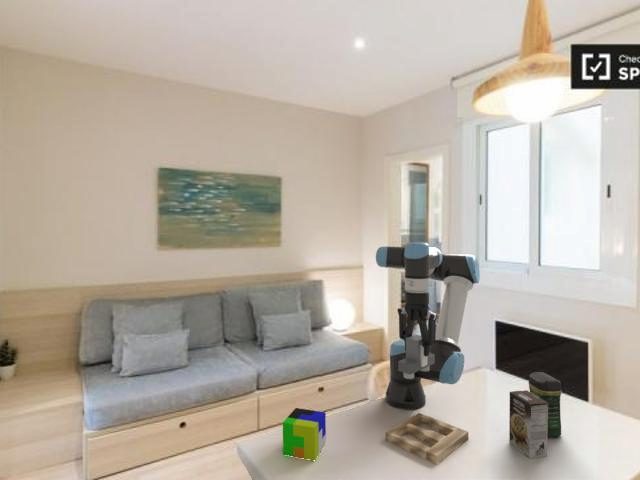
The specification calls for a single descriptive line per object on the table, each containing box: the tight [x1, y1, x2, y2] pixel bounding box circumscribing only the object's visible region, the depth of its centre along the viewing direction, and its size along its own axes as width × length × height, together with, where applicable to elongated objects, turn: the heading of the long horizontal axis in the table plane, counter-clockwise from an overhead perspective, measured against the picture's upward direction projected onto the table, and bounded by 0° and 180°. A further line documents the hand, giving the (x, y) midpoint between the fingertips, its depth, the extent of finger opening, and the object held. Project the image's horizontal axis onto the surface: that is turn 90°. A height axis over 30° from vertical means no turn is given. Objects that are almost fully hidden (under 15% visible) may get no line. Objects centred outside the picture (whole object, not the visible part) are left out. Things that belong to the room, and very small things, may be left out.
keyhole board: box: [384, 412, 469, 465], centre depth 125 cm, size 18×19×2 cm
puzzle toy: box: [282, 407, 327, 461], centre depth 121 cm, size 10×10×10 cm
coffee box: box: [508, 390, 548, 459], centre depth 119 cm, size 9×6×16 cm
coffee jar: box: [528, 371, 563, 439], centre depth 130 cm, size 10×8×19 cm
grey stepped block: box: [398, 334, 435, 379], centre depth 127 cm, size 4×14×12 cm, turn 133°
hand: (416, 363), depth 127 cm, fingers closed on grey stepped block, 4 cm apart
